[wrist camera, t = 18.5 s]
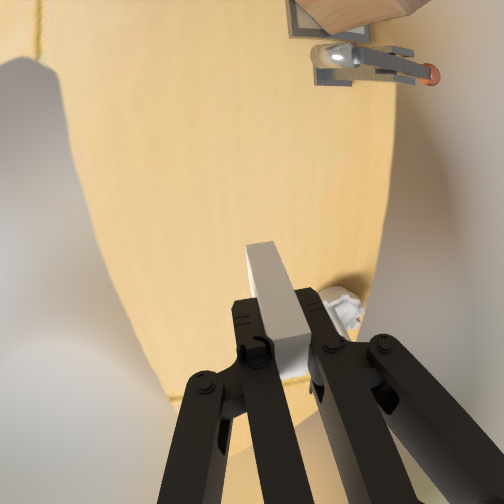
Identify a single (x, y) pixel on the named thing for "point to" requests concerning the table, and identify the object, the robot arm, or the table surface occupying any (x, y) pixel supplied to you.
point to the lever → (371, 61)
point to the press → (309, 28)
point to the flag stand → (342, 308)
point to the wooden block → (356, 12)
